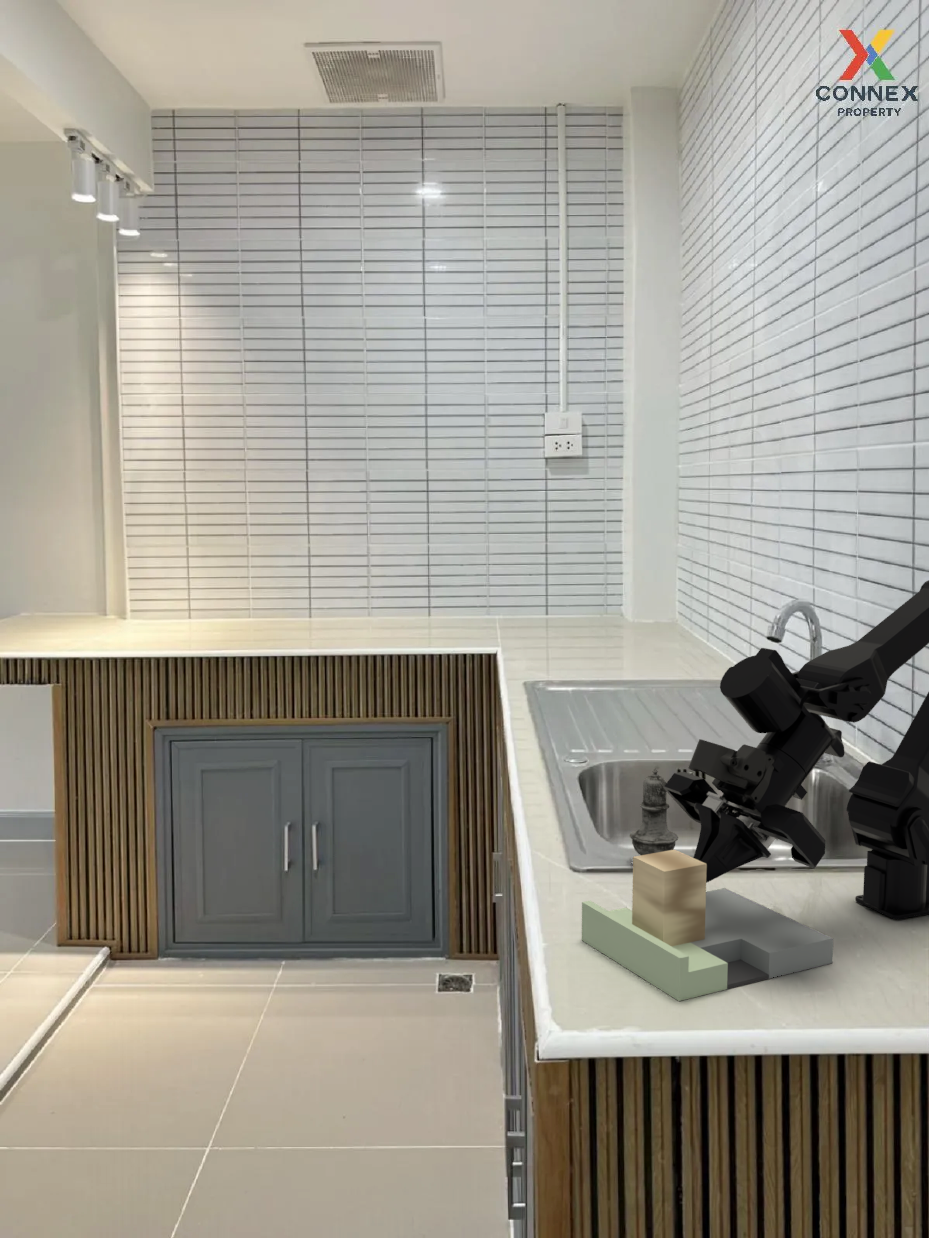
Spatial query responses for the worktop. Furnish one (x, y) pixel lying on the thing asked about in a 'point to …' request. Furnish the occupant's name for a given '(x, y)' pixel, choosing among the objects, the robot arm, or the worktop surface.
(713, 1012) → the worktop surface
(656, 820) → the salt shaker
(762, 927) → the board
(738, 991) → the worktop surface
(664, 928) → the beech block
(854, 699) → the robot arm
